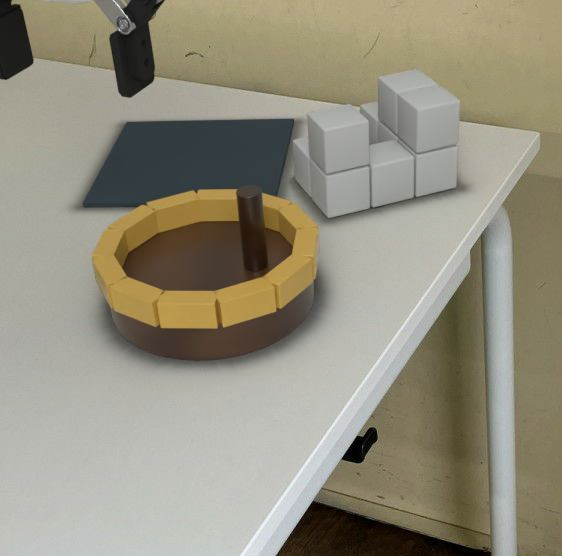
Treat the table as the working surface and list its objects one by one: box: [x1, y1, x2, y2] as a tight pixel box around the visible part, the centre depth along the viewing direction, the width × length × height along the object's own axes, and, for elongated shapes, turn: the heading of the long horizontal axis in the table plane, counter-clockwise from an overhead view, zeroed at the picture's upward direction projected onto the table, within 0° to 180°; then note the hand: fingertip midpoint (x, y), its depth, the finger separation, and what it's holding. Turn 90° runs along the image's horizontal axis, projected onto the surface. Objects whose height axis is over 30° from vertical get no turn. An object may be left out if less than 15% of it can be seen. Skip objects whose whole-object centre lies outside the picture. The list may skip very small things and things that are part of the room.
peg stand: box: [109, 185, 315, 361], centre depth 73 cm, size 15×15×9 cm
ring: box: [91, 189, 321, 329], centre depth 73 cm, size 16×16×2 cm
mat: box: [82, 118, 295, 208], centre depth 94 cm, size 17×17×1 cm
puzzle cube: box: [292, 68, 461, 219], centre depth 87 cm, size 12×12×8 cm
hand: (75, 80), depth 65 cm, fingers open, 9 cm apart
